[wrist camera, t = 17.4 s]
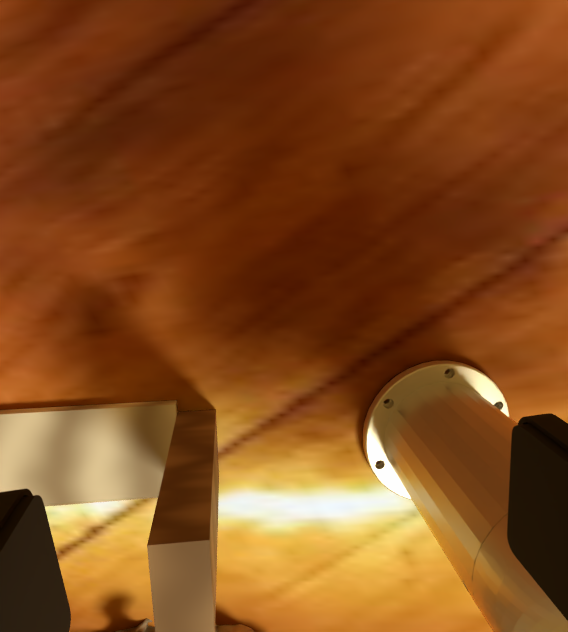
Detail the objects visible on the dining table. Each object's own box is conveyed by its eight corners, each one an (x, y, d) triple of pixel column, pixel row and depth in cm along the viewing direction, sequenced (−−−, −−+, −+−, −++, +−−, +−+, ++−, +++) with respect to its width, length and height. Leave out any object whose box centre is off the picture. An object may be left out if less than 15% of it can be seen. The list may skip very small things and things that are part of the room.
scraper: (215, 397, 38) (208, 522, 23) (219, 486, 40) (215, 652, 25) (-56, 413, 35) (-249, 561, 21) (-37, 506, 37) (-203, 701, 23)
